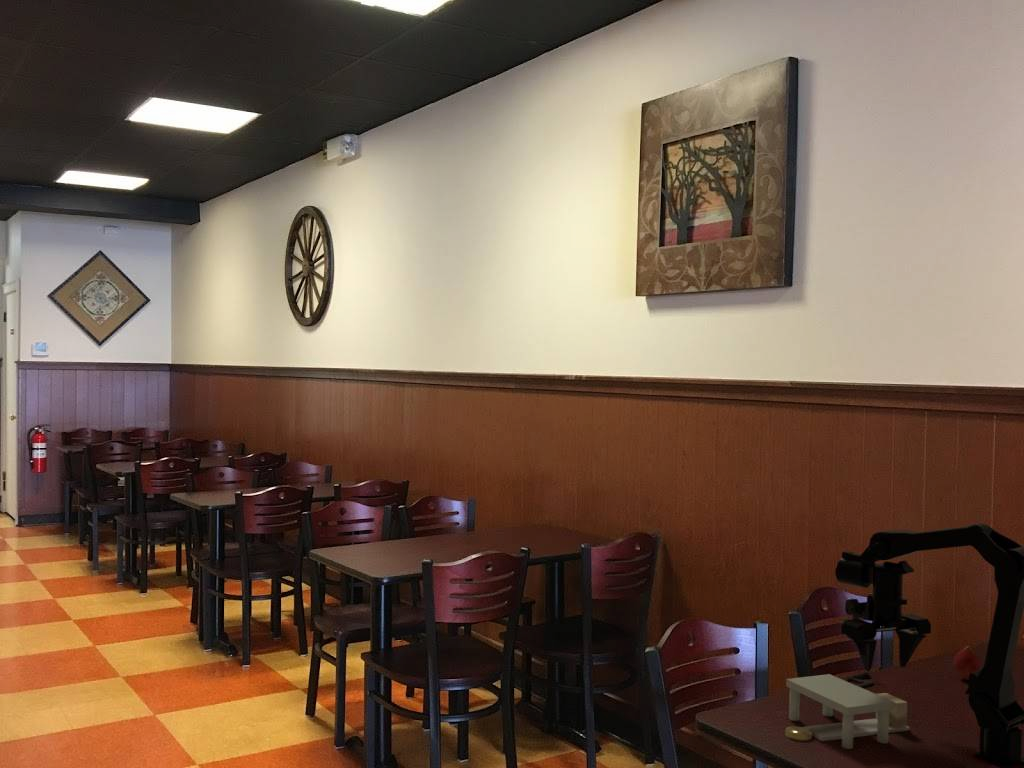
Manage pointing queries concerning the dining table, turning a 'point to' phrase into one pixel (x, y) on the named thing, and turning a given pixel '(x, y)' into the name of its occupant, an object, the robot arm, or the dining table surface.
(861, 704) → the miniature white bench
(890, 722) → the scraper
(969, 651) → the onion
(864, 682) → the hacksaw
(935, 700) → the dining table surface
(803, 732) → the token
